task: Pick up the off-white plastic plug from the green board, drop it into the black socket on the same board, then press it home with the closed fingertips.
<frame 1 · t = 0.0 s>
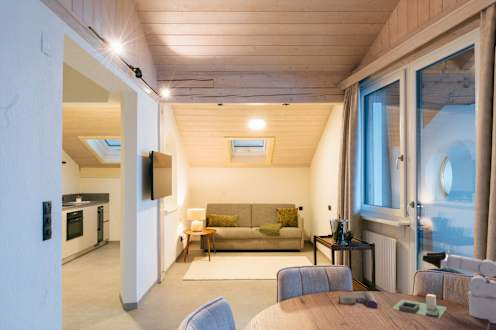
hand: (424, 256, 149), 22 cm above the table, fingers open, 7 cm apart
circuit board: (419, 310, 144), on the table
socket: (409, 308, 143), resting on circuit board
plug: (431, 307, 144), point 1 cm above the table, touching circuit board
infrared thermometer: (358, 306, 151), on the table
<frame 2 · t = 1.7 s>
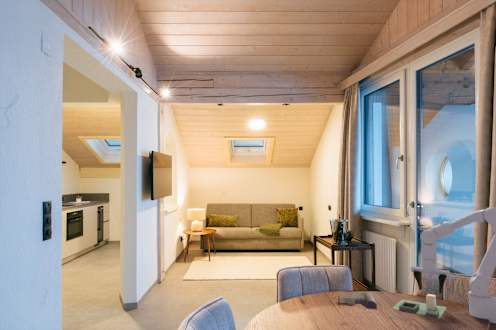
hand: (430, 291, 145), 8 cm above the table, fingers open, 7 cm apart
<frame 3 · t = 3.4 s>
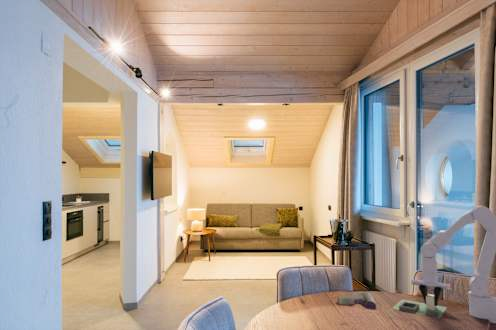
hand: (431, 304, 144), 2 cm above the table, fingers closed on plug, 3 cm apart
plug: (431, 307, 144), point 1 cm above the table, touching circuit board, gripper
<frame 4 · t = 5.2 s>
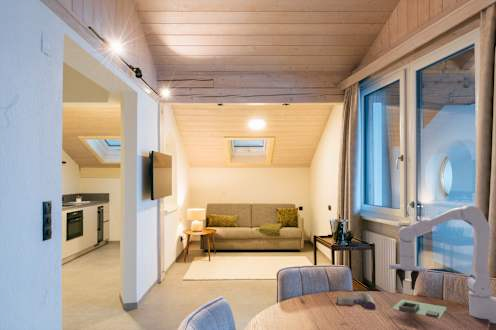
hand: (408, 288, 144), 9 cm above the table, fingers closed on plug, 3 cm apart
plug: (408, 292, 143), point 8 cm above the table, touching gripper
when the fingers open (3 cm above the table, at t = 7.0 s): plug stays where it is, resting on circuit board.
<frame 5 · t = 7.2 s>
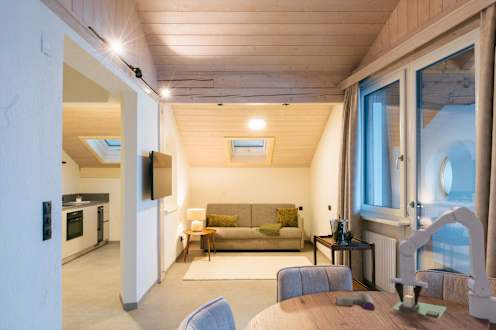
hand: (409, 303, 143), 3 cm above the table, fingers open, 5 cm apart
plug: (409, 309, 143), point 1 cm above the table, touching circuit board
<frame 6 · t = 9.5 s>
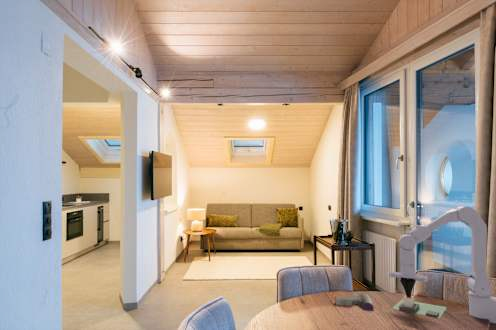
hand: (408, 296, 143), 6 cm above the table, fingers closed, pressing on plug
plug: (409, 309, 143), point 1 cm above the table, touching circuit board, gripper
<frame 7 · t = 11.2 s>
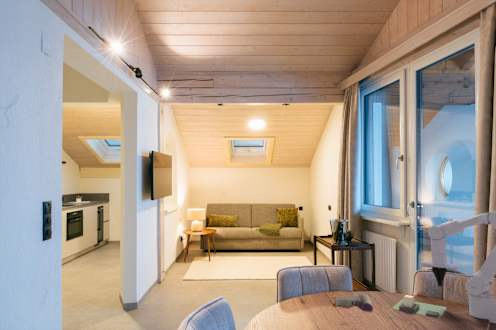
hand: (440, 285, 148), 9 cm above the table, fingers closed
plug: (409, 309, 143), point 1 cm above the table, touching circuit board
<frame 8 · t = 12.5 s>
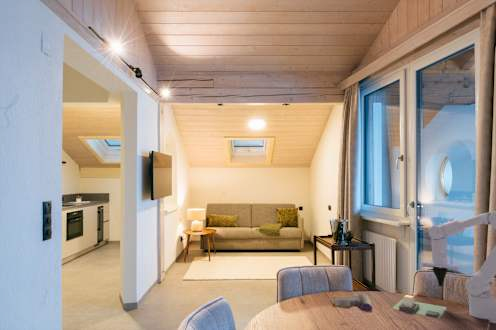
hand: (441, 285, 148), 9 cm above the table, fingers closed
at the end: plug 0.2 cm off-centre on the socket, point 0.0 cm above the socket's base; plug tilted 0°; the gripper is holding nothing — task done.
